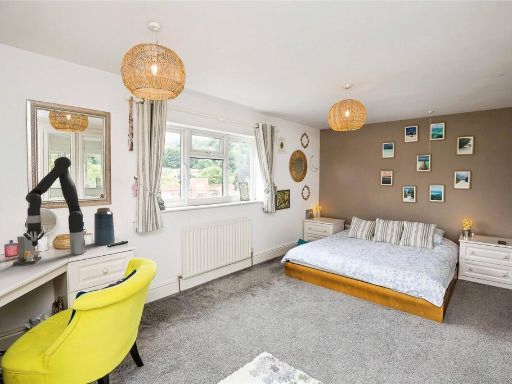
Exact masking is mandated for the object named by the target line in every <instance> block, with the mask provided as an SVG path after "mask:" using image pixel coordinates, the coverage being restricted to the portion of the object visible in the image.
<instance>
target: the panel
mask: <svg viewBox="0 0 512 384" xmlns="http://www.w3.org/2000/svg"><path fill="white" fill-rule="evenodd" d="M22 259H24V257H23V258H22V257H19V259H16V260H15V261H12V266H20V265H21V266H22V265H34V264H36V263H38V262H39V261H41V260H42V255H41V254H40V250H35V252H34V255H33V254H30V255H27V260H22Z"/></svg>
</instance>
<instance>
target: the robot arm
mask: <svg viewBox="0 0 512 384" xmlns="http://www.w3.org/2000/svg"><path fill="white" fill-rule="evenodd" d="M53 165H54V166H53V167H52V169H51V170H50V171H49V172H48V173H47V174H46V175H45V176H44V177H42V179H41V180H40V181H39V182H38V184H37V185H36V186H35V187H34V188H32V189H31V190H30V191H29V192H28V193H27V194H26V196H25V201H26V202H28V204H29V205H28V208H27V210H26V212H27V217H26V225H27V226H26V227H27V230H26V232H24V233H23V234H22V236H25V237H26V238H27V239H28V240H31V241H32V246H35V247H36V246H38V244H39V240H41V239H42V238H43V237H44V235H46V233H47V232H45V231H43V229H42V216H41V207H42V201H43V200H42V195H44V194H45V193H47V192H48V191H49V189H50V188H51V187H52V186H53V185H54V183H55V182H56V181H57V180H59V184H60V189H61V194H62V196H63V199H64V201H65V203H66V205H67V208H68V214H69V215H68V217H67V219H68V220H67V221H68V231H69V253H70V254H69V255H71V256H79V255H83V254H85V253H86V240H85V237H84V236H85V233H84V232H85V231H84V229H85V228H84V219H83V218H84V214H83V211H82V209H81V207H80V203H79V196H78V190H77V186H76V183H75V182H74V180H73V179H72V177H71V175H70V171H69V169H70V167H71V166H72V161H71V158H69V157H67V156H60V157H58V158H57V157H56V158H55V159H54V162H53ZM29 235H30V236H31V237H30V236H29Z"/></svg>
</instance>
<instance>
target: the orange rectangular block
mask: <svg viewBox="0 0 512 384" xmlns="http://www.w3.org/2000/svg"><path fill="white" fill-rule="evenodd" d="M30 254H31V253H30V251H26V252H24V259H22V260H27V255H30Z"/></svg>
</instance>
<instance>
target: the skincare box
mask: <svg viewBox="0 0 512 384" xmlns="http://www.w3.org/2000/svg"><path fill="white" fill-rule="evenodd" d="M29 236H30V235H29ZM30 237H31V236H30ZM16 238H17V240H16V241H17V253H18V258H23V257H24V252H26V251H30V253H31V254H33V256H34V252H35V251H36V246H32V241H31V240H28V239H27V238H26V237H25V236H24V235H20V236H17V237H16Z"/></svg>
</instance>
